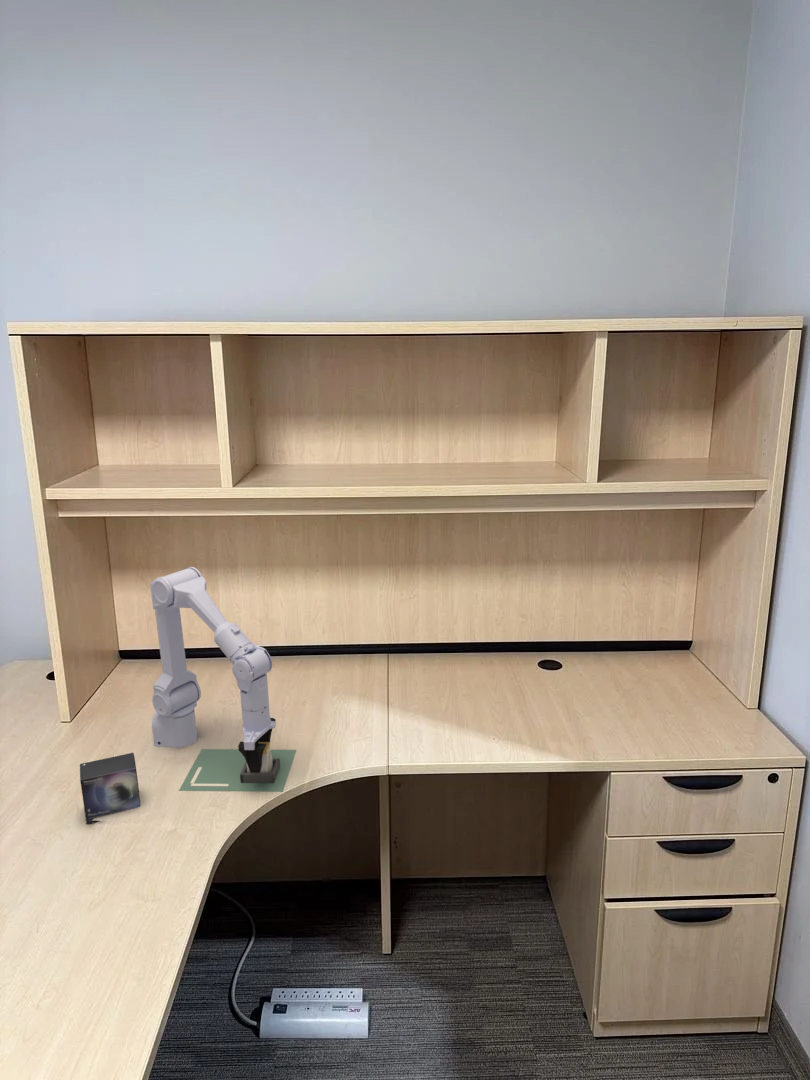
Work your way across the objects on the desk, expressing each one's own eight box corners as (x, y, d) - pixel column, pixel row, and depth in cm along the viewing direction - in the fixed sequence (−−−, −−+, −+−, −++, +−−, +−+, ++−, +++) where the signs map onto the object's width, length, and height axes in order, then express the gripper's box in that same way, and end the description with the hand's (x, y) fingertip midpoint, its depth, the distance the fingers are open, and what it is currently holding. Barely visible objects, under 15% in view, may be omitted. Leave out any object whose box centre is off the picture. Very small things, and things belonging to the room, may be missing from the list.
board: (179, 795, 156) (177, 782, 155) (202, 753, 171) (200, 741, 170) (283, 796, 155) (282, 783, 154) (296, 754, 170) (295, 741, 169)
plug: (247, 778, 159) (245, 751, 157) (251, 769, 162) (249, 742, 160) (271, 778, 159) (268, 751, 157) (274, 769, 162) (272, 742, 160)
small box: (85, 826, 146) (78, 780, 144) (85, 807, 152) (78, 763, 149) (142, 812, 150) (136, 767, 148) (139, 794, 156) (133, 751, 153)
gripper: (266, 722, 149) (270, 781, 152) (280, 688, 163) (284, 743, 166) (231, 722, 149) (237, 781, 153) (249, 688, 163) (253, 743, 167)
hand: (259, 761), depth 160 cm, fingers open, 7 cm apart
